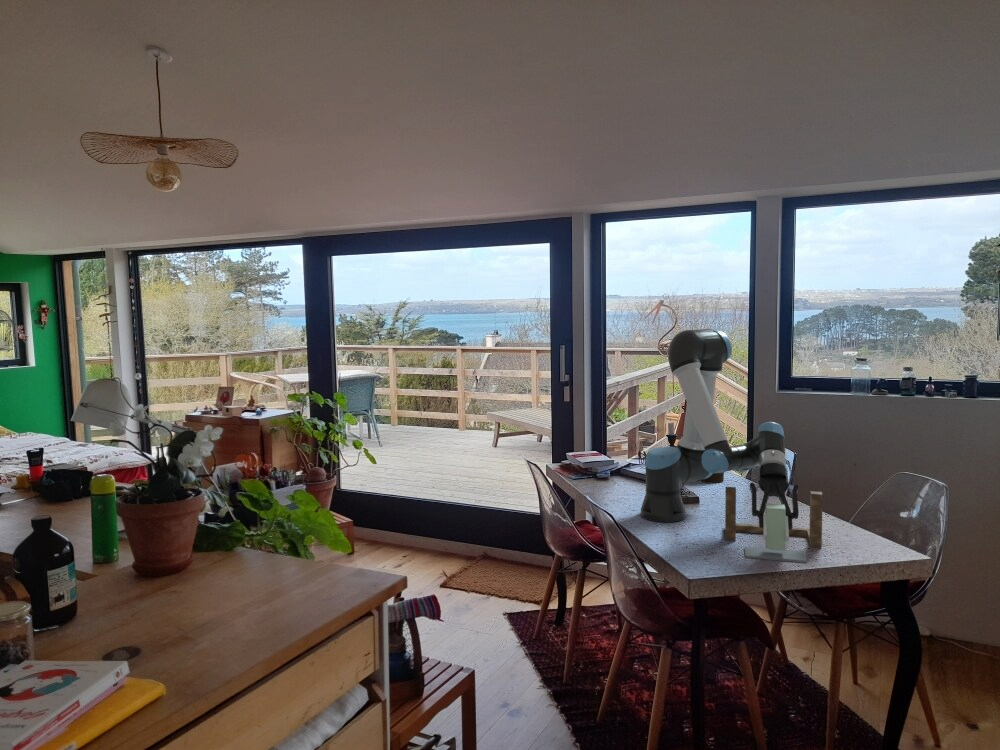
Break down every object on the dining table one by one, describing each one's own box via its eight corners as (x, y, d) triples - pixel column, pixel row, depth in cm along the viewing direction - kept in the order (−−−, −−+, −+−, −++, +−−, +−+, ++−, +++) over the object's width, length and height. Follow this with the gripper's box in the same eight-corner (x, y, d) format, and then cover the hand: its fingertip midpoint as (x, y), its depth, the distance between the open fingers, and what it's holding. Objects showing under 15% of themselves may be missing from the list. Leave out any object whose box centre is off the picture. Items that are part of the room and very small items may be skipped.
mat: (745, 557, 195) (745, 555, 195) (744, 548, 203) (744, 546, 203) (806, 562, 190) (806, 560, 190) (803, 553, 198) (803, 551, 198)
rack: (725, 540, 211) (725, 489, 209) (725, 528, 222) (725, 480, 221) (821, 547, 202) (822, 494, 201) (816, 535, 214) (817, 484, 212)
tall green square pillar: (766, 549, 195) (766, 507, 194) (765, 543, 199) (765, 503, 199) (785, 550, 193) (785, 508, 192) (783, 545, 198) (784, 504, 197)
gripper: (741, 460, 207) (742, 529, 193) (806, 462, 201) (812, 534, 187) (740, 473, 212) (741, 542, 198) (804, 476, 207) (810, 547, 192)
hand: (776, 538), depth 192 cm, fingers closed on tall green square pillar, 5 cm apart
